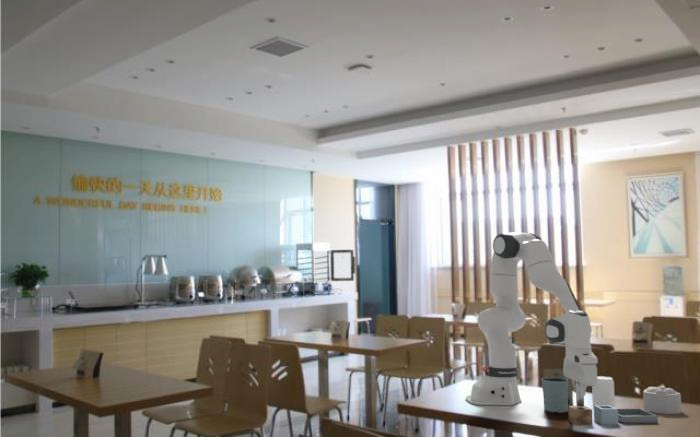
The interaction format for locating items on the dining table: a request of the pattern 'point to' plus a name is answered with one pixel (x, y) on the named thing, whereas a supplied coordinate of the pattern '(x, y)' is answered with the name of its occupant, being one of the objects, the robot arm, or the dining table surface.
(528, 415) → the dining table surface
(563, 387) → the teal bin
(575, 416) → the walnut block
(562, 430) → the dining table surface
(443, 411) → the dining table surface
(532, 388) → the dining table surface
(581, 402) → the pin gauge
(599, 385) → the white tall block
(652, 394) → the lumpy-topped squat cylinder
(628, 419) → the tray
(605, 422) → the blue block
